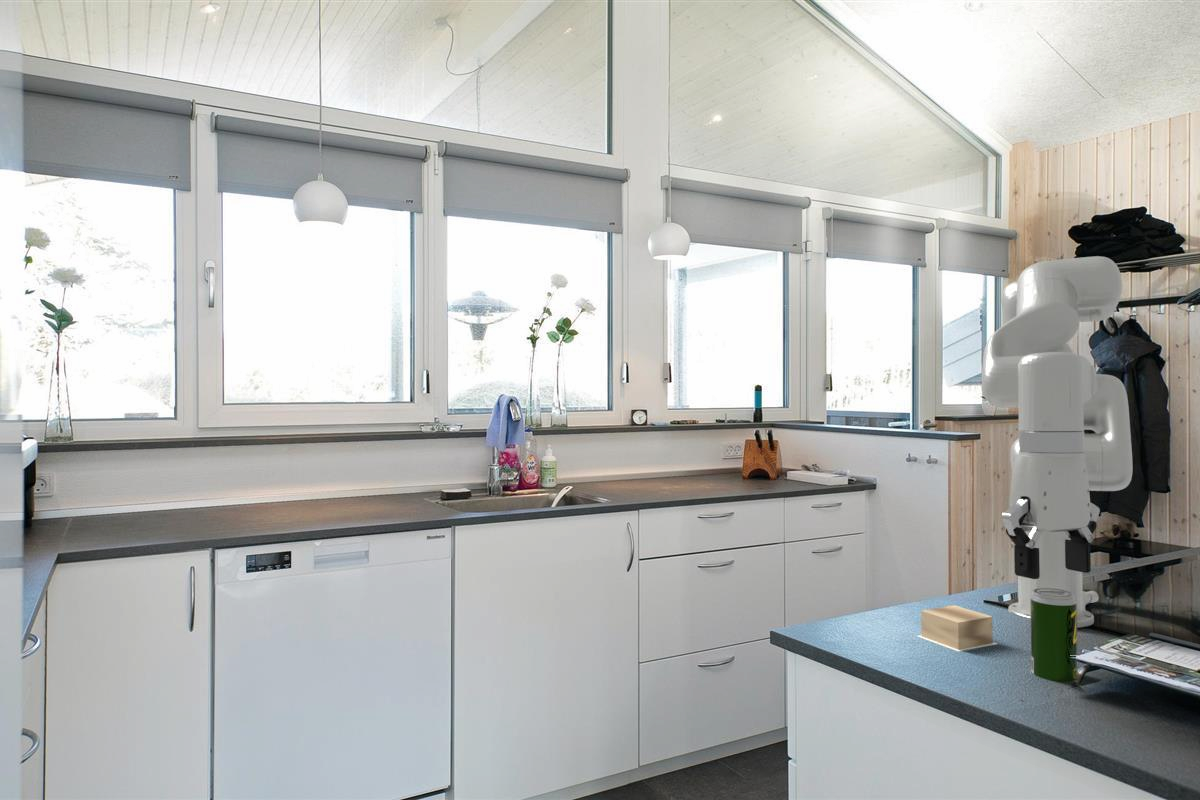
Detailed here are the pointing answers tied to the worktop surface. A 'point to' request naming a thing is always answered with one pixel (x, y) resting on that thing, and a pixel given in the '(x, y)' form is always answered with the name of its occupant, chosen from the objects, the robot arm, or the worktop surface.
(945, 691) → the worktop surface
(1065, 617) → the beer can
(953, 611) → the oak block
